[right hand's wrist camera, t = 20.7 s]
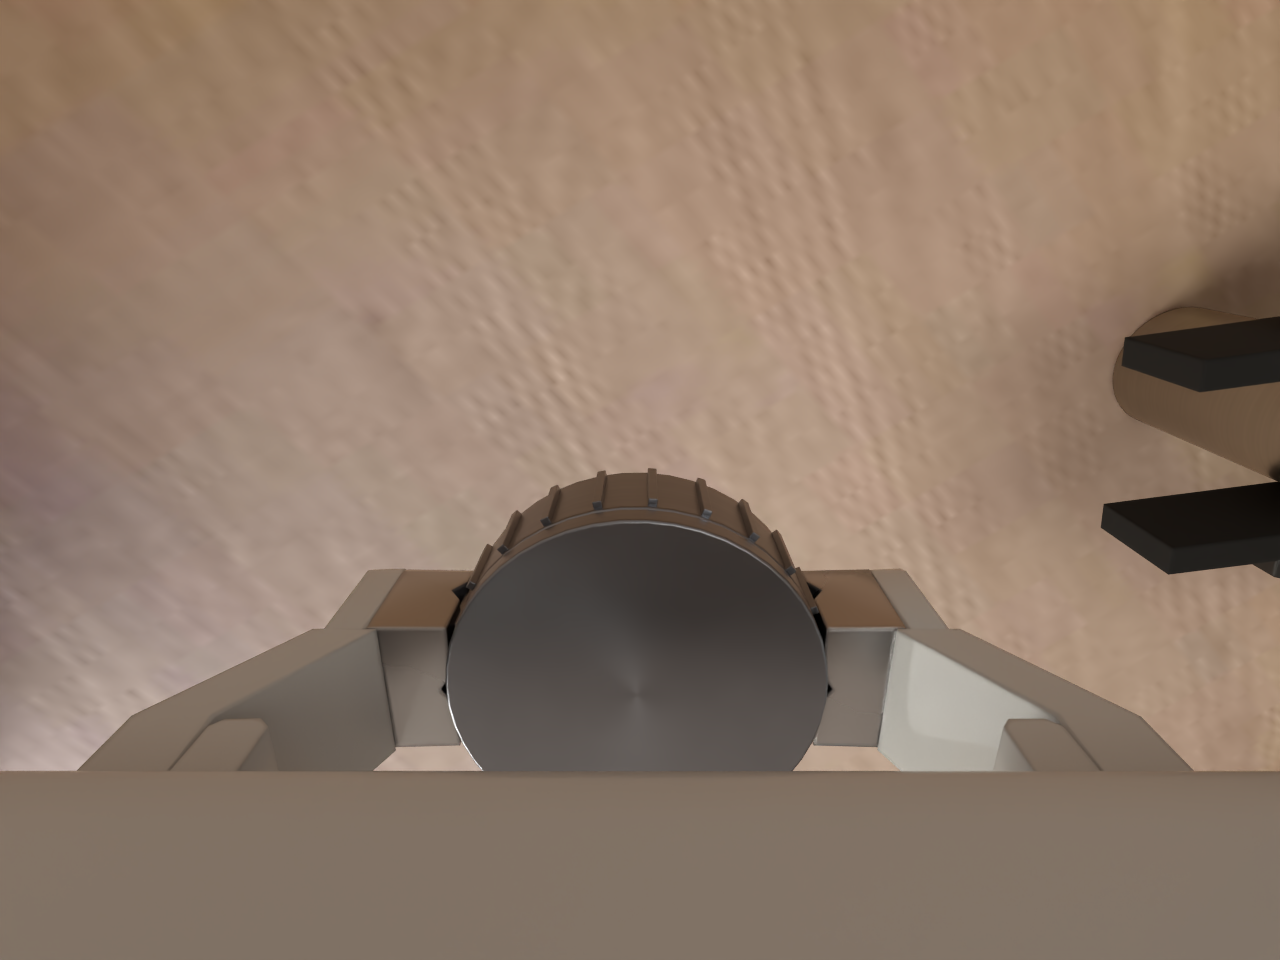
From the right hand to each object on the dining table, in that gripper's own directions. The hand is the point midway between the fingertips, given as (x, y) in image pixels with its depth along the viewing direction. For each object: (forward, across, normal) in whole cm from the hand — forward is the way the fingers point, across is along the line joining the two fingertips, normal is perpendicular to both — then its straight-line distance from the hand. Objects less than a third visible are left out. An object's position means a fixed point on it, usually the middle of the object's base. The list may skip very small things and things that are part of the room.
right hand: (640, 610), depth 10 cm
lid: (-2, 0, 0) cm, 2 cm away
